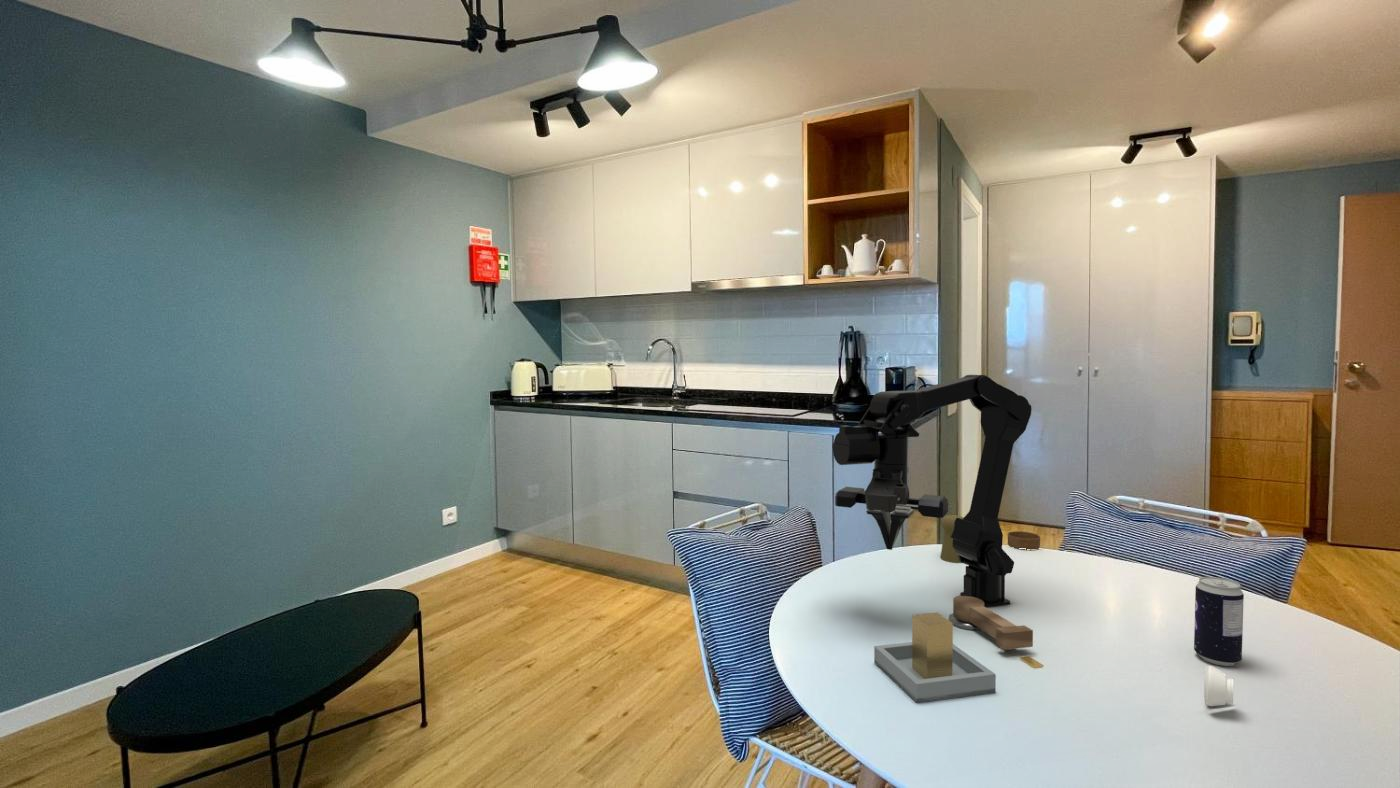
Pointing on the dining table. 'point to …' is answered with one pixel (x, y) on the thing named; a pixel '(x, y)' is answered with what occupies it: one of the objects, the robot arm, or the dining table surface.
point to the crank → (992, 623)
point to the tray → (962, 683)
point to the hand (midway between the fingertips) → (889, 549)
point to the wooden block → (932, 645)
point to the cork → (949, 539)
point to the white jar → (1217, 687)
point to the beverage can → (1218, 621)
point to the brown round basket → (1023, 540)
